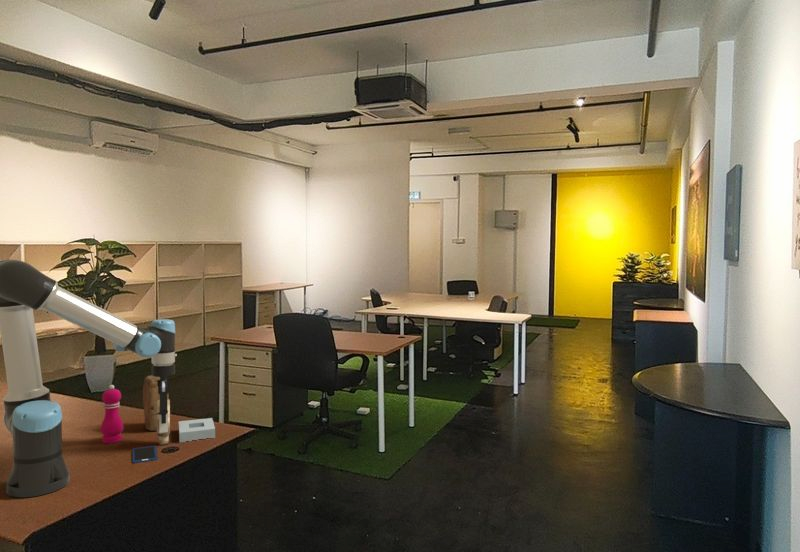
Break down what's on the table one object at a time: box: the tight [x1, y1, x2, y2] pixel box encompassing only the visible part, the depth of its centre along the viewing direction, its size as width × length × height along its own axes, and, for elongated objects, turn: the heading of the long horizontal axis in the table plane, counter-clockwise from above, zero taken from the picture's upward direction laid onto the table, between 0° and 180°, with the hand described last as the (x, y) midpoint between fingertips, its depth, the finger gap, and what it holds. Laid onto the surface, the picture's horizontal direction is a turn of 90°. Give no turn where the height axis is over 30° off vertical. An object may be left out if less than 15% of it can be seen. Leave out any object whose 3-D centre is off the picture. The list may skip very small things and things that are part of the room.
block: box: [142, 374, 170, 432], centre depth 210 cm, size 11×8×20 cm
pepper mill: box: [100, 384, 124, 444], centre depth 195 cm, size 7×7×20 cm
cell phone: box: [131, 445, 158, 464], centre depth 183 cm, size 7×14×1 cm, turn 26°
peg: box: [156, 399, 171, 446], centre depth 193 cm, size 4×4×15 cm
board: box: [178, 417, 216, 443], centre depth 203 cm, size 12×14×4 cm
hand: (163, 429), depth 193 cm, fingers closed on peg, 4 cm apart
